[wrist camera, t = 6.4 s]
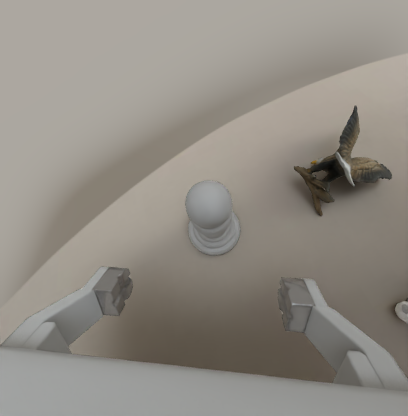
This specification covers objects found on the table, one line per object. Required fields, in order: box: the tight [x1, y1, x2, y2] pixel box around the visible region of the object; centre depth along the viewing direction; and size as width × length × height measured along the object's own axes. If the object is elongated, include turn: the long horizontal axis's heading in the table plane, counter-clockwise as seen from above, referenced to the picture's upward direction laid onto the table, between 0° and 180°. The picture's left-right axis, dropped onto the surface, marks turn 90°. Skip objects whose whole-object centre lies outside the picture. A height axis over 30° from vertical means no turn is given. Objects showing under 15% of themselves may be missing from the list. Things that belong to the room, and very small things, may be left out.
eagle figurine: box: [294, 105, 392, 216], centre depth 19 cm, size 8×7×9 cm
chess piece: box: [185, 180, 240, 255], centre depth 16 cm, size 5×5×9 cm
